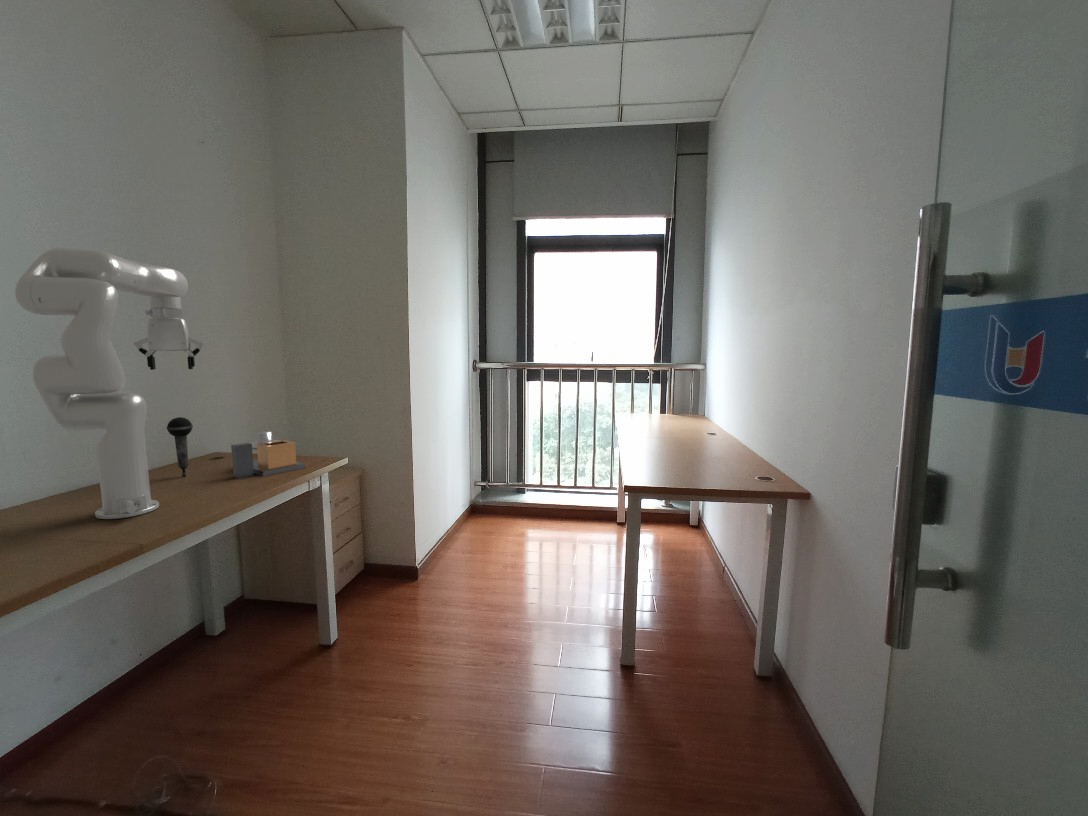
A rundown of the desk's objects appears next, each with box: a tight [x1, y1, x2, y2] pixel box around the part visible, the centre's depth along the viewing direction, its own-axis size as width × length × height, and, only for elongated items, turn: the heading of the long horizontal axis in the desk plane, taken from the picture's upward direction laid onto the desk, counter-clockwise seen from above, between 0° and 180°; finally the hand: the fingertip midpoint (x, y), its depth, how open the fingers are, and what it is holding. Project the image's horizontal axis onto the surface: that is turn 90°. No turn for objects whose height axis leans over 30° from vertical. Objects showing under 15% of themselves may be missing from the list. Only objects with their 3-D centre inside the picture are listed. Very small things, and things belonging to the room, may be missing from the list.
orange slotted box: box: [250, 430, 306, 477], centre depth 168 cm, size 20×14×12 cm
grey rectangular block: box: [230, 442, 255, 479], centre depth 157 cm, size 3×5×11 cm, turn 145°
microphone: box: [166, 416, 194, 478], centre depth 155 cm, size 7×7×20 cm
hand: (172, 369), depth 150 cm, fingers open, 9 cm apart
